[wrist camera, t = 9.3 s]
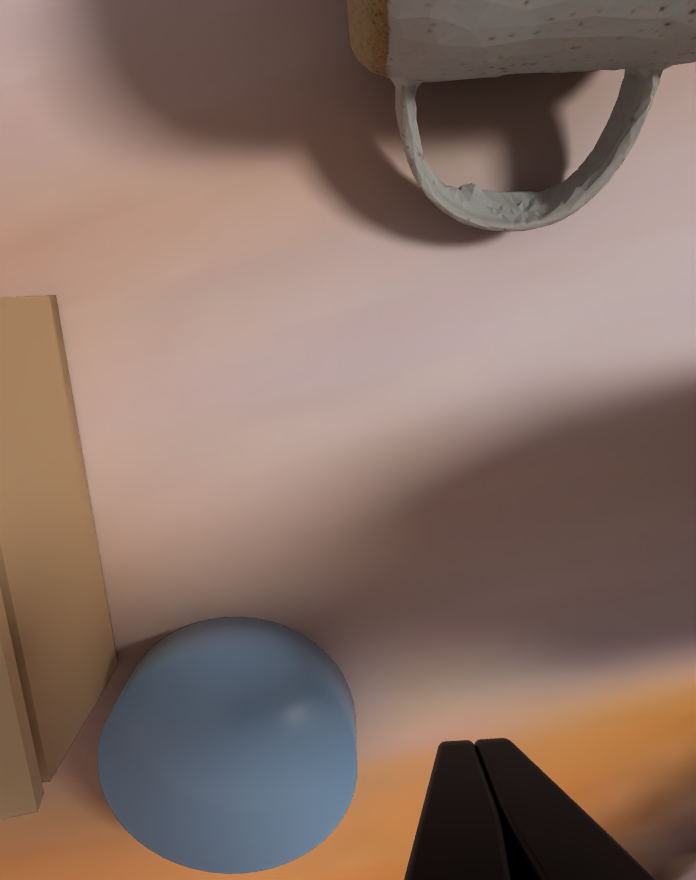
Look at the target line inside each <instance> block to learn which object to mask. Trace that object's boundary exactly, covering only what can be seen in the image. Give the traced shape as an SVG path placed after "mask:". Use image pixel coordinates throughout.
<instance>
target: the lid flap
mask: <svg viewBox="0 0 696 880" xmlns="http://www.w3.org/2000/svg"><path fill="white" fill-rule="evenodd" d="M43 794H44V791H43V786H42V782H41V777H40V772H39V768H38V763H37V758H36V753H35V749H34V744H33V739H32V735H31V730H30V725H29V720H28V716H27V711H26V706H25V701H24V697H23V692H22V687H21V683H20V678H19V673H18V668H17V664H16V659H15V654H14V650H13V645H12V640H11V635H10V631H9V626H8V621H7V617H6V612H5V607H4V602H3V598H2V593H1V588H0V820H1V819H5V818H10V817H15V816H20V815H24V814H29V813H34V812H38V809H39V806H40V803H41V800H42V797H43Z"/></svg>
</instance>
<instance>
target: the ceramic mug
mask: <svg viewBox="0 0 696 880" xmlns="http://www.w3.org/2000/svg"><path fill="white" fill-rule="evenodd" d="M346 6H347V14H348V24H349V37H350V44H351V49H352V51H353V53H354V55H355V56H356V58H357V60H358V61H359V62H360V63H361V64H362V65H363V66H364V67H366V68H367V69H368V70H369V71H370V72H371V73H372V74H375V75H379V76H382V77H386V78H390V79H391V81H392V82H393V84H394V85H395V101H396V103H395V111H396V118H397V123H398V128H399V132H400V137H401V140H402V144H403V147H404V151H405V154H406V157H407V161H408V163H409V166H410V168H411V171H412V173H413V176H414V177H415V179H416V181H417V183H418V185H419V186H420V187H421V189H422V190H423V192H424V193H425V195H426V196H427V197H428V198H429V199H430V200H431V201H432V202H433V203H434V204H435V205H436V206H437V207H438V208H439V209H440V210H441V211H442V212H444V213H445V214H447V215H449V216H450V217H452V218H454V219H455V220H457V221H459V222H461V223H463V224H464V225H468V226H473V227H476V228H478V229H483V230H492V231H526V230H530V229H535V228H539V227H543V226H548V225H551V224H554V223H556V222H558V221H561V220H563V219H564V218H566V217H568V216H570V215H572V214H573V213H575V212H576V211H577V210H579V209H580V208H581V207H582V206H584V205H585V204H586V203H587V202H588V201H589V200H590V199H592V198H593V197H594V196H595V195H596V194H597V193H598V192H599V191H600V190H601V189H602V188H603V187H604V186H605V185H606V184H607V183H608V182H609V180H610V179H611V177H612V176H613V175H614V173H615V172H616V171H617V170H618V169H619V167H620V166H621V164H622V163H623V161H624V159H625V158H626V156H627V154H628V153H629V151H630V149H631V148H632V146H633V144H634V142H635V141H636V139H637V137H638V135H639V133H640V130H641V128H642V126H643V123H644V121H645V119H646V116H647V114H648V112H649V110H650V107H651V105H652V102H653V98H654V95H655V92H656V90H657V88H658V85H659V83H660V77H661V74H662V71H663V70H664V69H666V68H668V67H670V66H672V65H678V64H685V63H692V62H696V0H346ZM619 69H625V75H624V79H623V81H622V85H621V88H620V92H619V95H618V98H617V101H616V104H615V106H614V108H613V111H612V113H611V116H610V118H609V120H608V123H607V125H606V126H605V128H604V130H603V132H602V134H601V136H600V138H599V140H598V141H597V143H596V145H595V147H594V149H593V151H592V152H591V153H590V154H589V156H588V157H587V158H586V160H585V161H584V162H583V163H582V164H581V165H580V166H579V168H578V170H577V171H575V172H574V173H573V174H572V175H571V176H570V177H569V178H568V179H567V180H565V181H564V182H562V183H560V184H559V185H557V186H552V187H549V188H547V189H545V190H544V191H539V192H532V191H528V192H496V191H488V190H481V189H479V188H478V187H477V186H476V185H474V184H472V183H471V184H466V185H462V186H461V187H460V188H458V189H457V188H455V187H452V186H446V185H445V184H444V183H442V182H441V181H440V179H439V178H438V177H437V175H436V174H435V172H434V171H433V170H432V168H431V167H430V166H429V164H428V163H427V162H426V160H425V159H424V156H423V150H422V145H421V140H420V135H419V130H418V125H417V120H416V111H417V108H416V102H415V96H416V92H417V88H418V86H419V85H420V84H421V83H422V82H440V81H452V80H462V79H475V78H486V77H499V76H502V75H508V74H521V73H543V72H547V73H563V72H587V71H596V70H619Z"/></svg>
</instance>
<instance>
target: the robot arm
mask: <svg viewBox="0 0 696 880" xmlns="http://www.w3.org/2000/svg"><path fill="white" fill-rule="evenodd" d="M404 880H656V879H655V878H654V877H653V876H652V875H651V874H650V873H649V872H648V871H647V870H646V869H645V868H644V867H643V866H642V865H641V864H640V863H639V862H638V861H636V860H635V859H634V858H633V857H632V856H631V855H630V854H629V853H628V852H627V851H626V850H625V849H624V848H623V847H622V846H621V845H620V844H619V843H618V842H616V841H615V840H614V839H613V838H612V837H611V836H610V835H609V834H608V833H607V832H606V831H605V830H604V829H603V828H602V827H601V826H600V825H599V824H598V823H597V822H595V821H594V820H593V819H592V818H591V817H590V816H589V815H588V814H587V813H586V812H585V811H584V810H583V809H582V808H581V807H580V806H579V805H578V804H577V803H575V802H574V801H573V800H572V799H571V798H570V797H569V796H568V795H567V794H566V793H565V792H564V791H563V790H562V789H561V788H560V787H559V786H558V785H557V784H555V783H554V782H553V781H552V780H551V779H550V778H549V777H548V776H547V775H546V774H545V773H544V772H543V771H542V770H541V769H540V768H539V767H538V766H537V765H535V764H534V763H533V762H532V761H531V760H530V759H529V758H528V757H527V756H526V755H525V754H524V753H523V752H522V751H521V750H520V749H519V748H518V747H517V746H516V745H514V744H513V743H512V742H511V741H510V740H508V739H506V738H495V739H480V740H477V741H476V742H475V744H473V743H472V742H471V741H469V740H462V741H445V742H442V743H441V744H440V745H439V747H438V750H437V754H436V758H435V762H434V766H433V770H432V774H431V778H430V781H429V785H428V789H427V793H426V797H425V801H424V805H423V809H422V812H421V816H420V820H419V824H418V828H417V832H416V836H415V840H414V844H413V847H412V851H411V855H410V859H409V863H408V867H407V871H406V875H405V878H404Z"/></svg>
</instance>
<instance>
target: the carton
mask: <svg viewBox="0 0 696 880" xmlns="http://www.w3.org/2000/svg"><path fill="white" fill-rule="evenodd" d="M0 588H1V593H2V598H3V602H4V607H5V612H6V617H7V621H8V626H9V631H10V635H11V640H12V645H13V650H14V654H15V659H16V664H17V668H18V673H19V678H20V683H21V687H22V692H23V697H24V701H25V706H26V711H27V716H28V720H29V725H30V730H31V735H32V739H33V744H34V749H35V753H36V758H37V763H38V768H39V772H40V777H41V782H50V781H51V779H52V777H53V776H54V774H55V772H56V770H57V769H58V767H59V765H60V764H61V762H62V760H63V758H64V757H65V755H66V753H67V752H68V750H69V748H70V746H71V745H72V743H73V741H74V740H75V738H76V736H77V734H78V733H79V731H80V729H81V728H82V726H83V724H84V723H85V721H86V719H87V717H88V716H89V714H90V712H91V711H92V709H93V707H94V705H95V704H96V702H97V700H98V699H99V697H100V695H101V693H102V692H103V690H104V688H105V687H106V685H107V683H108V681H109V680H110V678H111V676H112V675H113V673H114V671H115V669H116V668H117V666H118V663H117V657H116V651H115V645H114V639H113V633H112V627H111V621H110V616H109V610H108V604H107V598H106V592H105V586H104V580H103V574H102V568H101V562H100V556H99V550H98V544H97V538H96V532H95V526H94V520H93V514H92V508H91V502H90V496H89V490H88V484H87V478H86V472H85V466H84V460H83V454H82V448H81V442H80V436H79V431H78V425H77V419H76V413H75V407H74V401H73V395H72V389H71V383H70V377H69V371H68V365H67V359H66V353H65V347H64V341H63V335H62V329H61V323H60V317H59V311H58V305H57V299H56V295H49V296H25V297H2V298H0Z"/></svg>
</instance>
